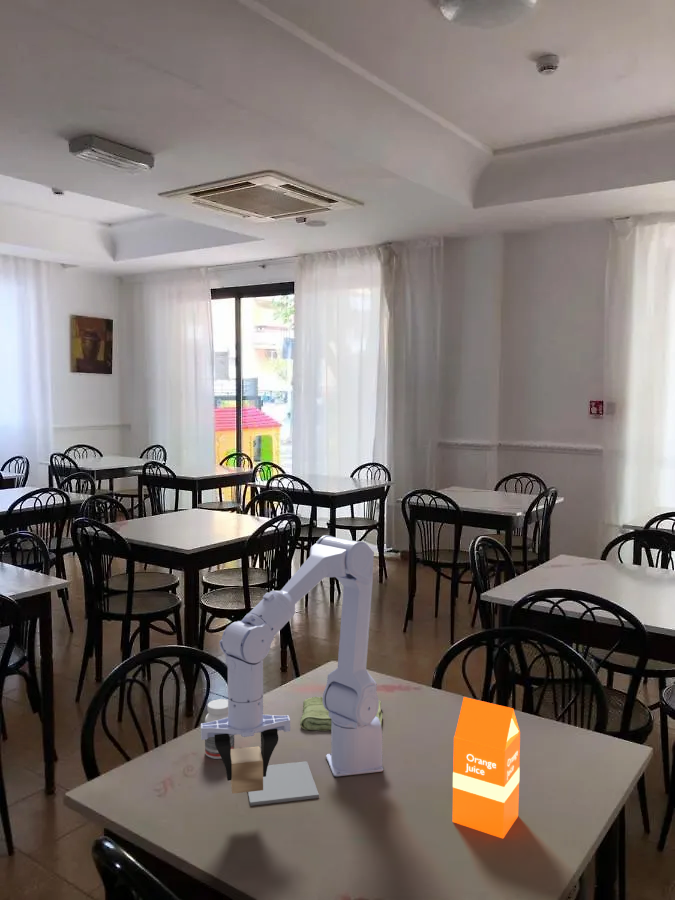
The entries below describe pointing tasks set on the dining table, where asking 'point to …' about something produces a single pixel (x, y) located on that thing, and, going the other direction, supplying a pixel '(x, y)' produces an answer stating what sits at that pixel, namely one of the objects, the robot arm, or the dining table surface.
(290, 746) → the dining table surface
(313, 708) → the washcloth
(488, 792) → the orange juice
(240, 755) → the oak cube
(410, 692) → the dining table surface
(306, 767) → the grey board
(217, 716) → the pill bottle
